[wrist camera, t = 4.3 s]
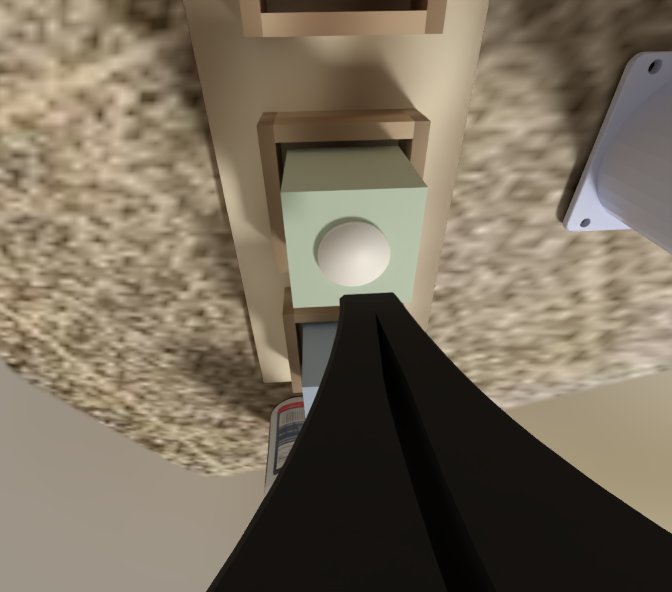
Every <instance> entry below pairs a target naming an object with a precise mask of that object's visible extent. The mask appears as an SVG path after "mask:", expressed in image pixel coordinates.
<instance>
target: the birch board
mask: <svg viewBox="0 0 672 592" xmlns="http://www.w3.org/2000/svg"><path fill="white" fill-rule="evenodd" d="M183 3H184V8H185V12H186V17H187V22H188V27H189V31H190V36H191V41H192V46H193V50H194V55H195V60H196V65H197V69H198V74H199V79H200V84H201V88H202V93H203V98H204V103H205V107H206V112H207V117H208V121H209V126H210V131H211V136H212V140H213V145H214V150H215V155H216V159H217V164H218V169H219V174H220V178H221V183H222V188H223V193H224V197H225V202H226V207H227V211H228V216H229V221H230V226H231V230H232V235H233V240H234V245H235V249H236V254H237V259H238V264H239V268H240V273H241V278H242V283H243V287H244V292H245V297H246V302H247V306H248V311H249V316H250V320H251V325H252V330H253V335H254V339H255V344H256V349H257V354H258V358H259V363H260V368H261V373H262V377H263V382H264V383H270V382H288V381H291V382H292V389H293V393H300V392H303V391H302V364H303V323H305V322H325V321H339V314H340V306H325V307H304V308H293V301H292V292H291V283H290V274H289V265H288V256H287V247H286V238H285V229H284V220H283V211H282V202H281V193H280V192H281V186H282V180H283V174H284V167H285V161H286V155H287V149H307V148H340V147H372V146H399V147H400V149H401V150H402V152H403V153H404V154H405V156H406V157H407V158H408V160H409V161H410V163H411V164H412V165H413V167H414V168H415V170H416V171H417V172H418V174H419V175H420V177H421V178H422V179H423V181H424V182H425V184H426V185H427V186H428V192H427V198H426V205H425V212H424V219H423V226H422V232H421V239H420V246H419V253H418V260H417V267H416V273H415V280H414V287H413V294H412V301H411V302H407V303H402V304H403V305H404V306H405V308H406V309H407V310H408V311H409V313H410V314H411V315H412V316H413V318H414V319H415V320H416V321H417V323H418V324H419V325H420V326H421V328H422V329H423V330H424V331H425V332H426V330H427V325H428V319H429V314H430V309H431V304H432V299H433V293H434V288H435V283H436V278H437V272H438V267H439V262H440V257H441V251H442V246H443V241H444V236H445V231H446V225H447V220H448V215H449V210H450V204H451V199H452V194H453V189H454V183H455V178H456V173H457V168H458V162H459V157H460V152H461V147H462V142H463V136H464V131H465V126H466V121H467V115H468V110H469V105H470V100H471V94H472V89H473V84H474V79H475V74H476V68H477V63H478V58H479V53H480V47H481V42H482V37H483V32H484V26H485V21H486V16H487V11H488V5H489V0H183Z"/></svg>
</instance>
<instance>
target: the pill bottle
mask: <svg viewBox="0 0 672 592" xmlns="http://www.w3.org/2000/svg"><path fill="white" fill-rule="evenodd" d="M305 419H306V418H305V409H304V400H303V397H295V398H291V399H288V400H286V401H283V402H282V403H280V404H279V405H278V406H277V407H276V408H275V409H274V410H273V412H272V415H271V420H270V430H269V443H268V456H267V467H266V476H265V490H264V491H265V492H264V493H265V496H266V495H267V493H268V491H269V489H270V488H271V486H272V484H273V482H274V481H275V479H276V477H277V475H278V473H279V471H280V470H281V468H282V466H283V464H284V462H285V460H286V458H287V456H288V454H289V452H290V450H291V448H292V446H293V444H294V442H295V440H296V438H297V436H298V434H299V432H300V430H301V428H302V426H303V424H304V421H305Z"/></svg>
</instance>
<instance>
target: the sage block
mask: <svg viewBox="0 0 672 592" xmlns="http://www.w3.org/2000/svg"><path fill="white" fill-rule="evenodd" d="M427 192H428V186H427V185H426V184H425V182H424V181H423V179H422V178H421V177H420V175H419V174H418V172H417V171H416V170H415V168H414V167H413V165H412V164H411V163H410V161H409V160H408V158H407V157H406V156H405V154H404V153H403V152H402V150H401V149H400V147H399V146H372V147H340V148H307V149H287V155H286V161H285V167H284V174H283V180H282V186H281V192H280V193H281V202H282V211H283V220H284V229H285V238H286V247H287V256H288V265H289V274H290V283H291V292H292V301H293V308H304V307H325V306H340V304H339V299H340V298H341V297H342V296H343V295H347V294H367V293H388V292H393V293H394V294H395V295H396V296H397V297H398V298H399V300H400V301H401V302H402V303H407V302H411V301H412V294H413V287H414V280H415V273H416V267H417V260H418V253H419V246H420V239H421V232H422V226H423V219H424V212H425V205H426V198H427Z"/></svg>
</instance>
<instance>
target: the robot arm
mask: <svg viewBox="0 0 672 592" xmlns="http://www.w3.org/2000/svg"><path fill="white" fill-rule="evenodd" d="M653 61H655V64H654V67H653V68H652V70H650V71H649V72H648V69H649V66H650V65H651V63H652V62H653ZM584 219H586V220H585V221H584V222H583V223H582V224H580V223H581V222H582V221H583V220H584ZM563 227H565V228H566V229H567V230H568V231H594V230H618V229H633V230H635V231H636V232H638V233H639V234H641V235H642V236H644V237H645V238H647V239H648V240H650V241H652V242H653V243H655V244H656V245H658V246H659V247H661V248H662V249H664V250H666V251H667V252H669V253H670V254H672V51H659V52H641V53H638V54H636V55H635V56H633V57H632V58H631V59H630V60H629V62H628V64H627V65H626V67H625V70H624V72H623V75H622V77H621V80H620V82H619V85H618V87H617V90H616V92H615V94H614V97H613V99H612V102H611V104H610V107H609V109H608V112H607V114H606V117H605V119H604V122H603V124H602V127H601V129H600V131H599V134H598V136H597V139H596V141H595V144H594V146H593V149H592V151H591V154H590V156H589V159H588V161H587V164H586V166H585V169H584V171H583V173H582V176H581V178H580V181H579V183H578V186H577V188H576V191H575V193H574V196H573V198H572V201H571V203H570V206H569V208H568V210H567V213H566V215H565V218H564V220H563ZM339 304H340V314H339V321H338V326H337V331H336V335H335V339H334V343H333V346H332V350H331V354H330V357H329V360H328V363H327V366H326V369H325V372H324V374H323V377H322V380H321V383H320V386H319V388H318V391H317V393H316V396H315V398H314V401H313V403H312V406H311V408H310V410H309V413H308V415H307V417H306V419H305V421H304V424H303V426H302V428H301V430H300V432H299V434H298V436H297V438H296V440H295V442H294V444H293V446H292V448H291V450H290V452H289V454H288V456H287V458H286V460H285V462H284V464H283V466H282V468H281V470H280V471H279V473H278V475H277V477H276V479H275V481H274V482H273V484H272V486H271V488H270V489H269V491H268V493H267V495H266V496H265V498H264V500H263V501H262V503H261V505H260V507H259V508H258V510H257V512H256V513H255V515H254V517H253V519H252V520H251V522H250V523H249V525H248V527H247V529H246V530H245V532H244V534H243V535H242V537H241V539H240V540H239V542H238V544H237V545H236V547H235V548H234V550H233V552H232V553H231V555H230V556H229V558H228V559H227V561H226V562H225V564H224V565H223V567H222V568H221V570H220V571H219V573H218V575H217V576H216V578H215V579H214V580H213V582H212V584H211V585H210V587H209V588H208V590H207V591H206V592H672V534H671V533H670V532H668V531H666V530H665V529H663V528H662V527H660V526H658V525H657V524H656V523H654V522H653V521H651V520H650V519H648V518H647V517H645V516H643V515H642V514H641V513H639V512H638V511H636V510H635V509H633V508H632V507H630V506H629V505H627V504H626V503H624V502H623V501H622V500H620V499H619V498H617V497H616V496H614V495H613V494H611V493H609V492H608V491H607V490H605V489H604V488H602V487H601V486H600V485H598V484H597V483H595V482H594V481H592V480H591V479H590V478H588V477H587V476H586V475H584V474H583V473H582V472H580V471H579V470H578V469H576V468H575V467H574V466H572V465H571V464H570V463H568V462H567V461H566V460H564V459H563V458H561V457H560V456H559V455H557V454H556V453H555V452H554V451H552V450H551V449H550V448H548V447H547V446H546V445H544V444H543V443H542V442H540V441H539V440H538V439H536V438H535V437H534V436H533V435H531V434H530V433H529V432H528V431H527V430H525V429H524V428H523V427H522V426H520V425H519V424H518V423H517V422H516V421H514V420H513V419H512V418H511V417H510V416H509V415H507V414H506V413H505V412H504V411H503V410H502V409H501V408H499V407H498V406H497V405H496V404H495V403H494V402H493V401H492V400H490V399H489V398H488V397H487V396H486V395H485V394H484V393H483V392H482V391H481V390H480V389H479V388H478V387H477V386H476V385H474V384H473V383H472V382H471V381H470V380H469V379H468V378H467V377H466V376H465V375H464V374H463V373H462V372H461V371H460V370H459V369H458V368H457V367H456V365H455V364H454V363H453V362H452V361H451V360H450V359H449V358H448V357H447V356H446V355H445V354H444V353H443V352H442V350H441V349H440V348H439V347H438V346H437V345H436V344H435V343H434V341H433V340H432V339H431V338H430V337H429V336H428V335H427V333H426V332H425V331H424V330H423V329H422V328H421V326H420V325H419V324H418V323H417V321H416V320H415V319H414V318H413V316H412V315H411V314H410V313H409V311H408V310H407V309H406V308H405V306H404V305H403V304H402V302H401V301H400V300H399V298H398V297H397V296H396V295H395V294H394V293H393V292H388V293H367V294H347V295H343V296H342V297H341V298H340V299H339Z"/></svg>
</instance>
